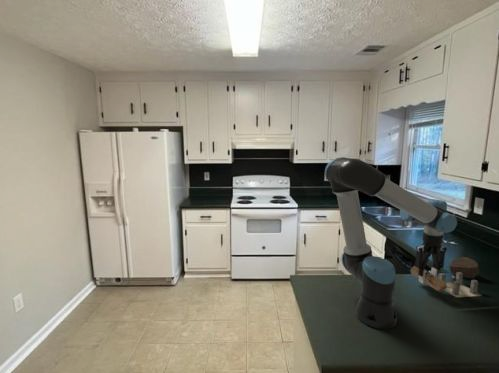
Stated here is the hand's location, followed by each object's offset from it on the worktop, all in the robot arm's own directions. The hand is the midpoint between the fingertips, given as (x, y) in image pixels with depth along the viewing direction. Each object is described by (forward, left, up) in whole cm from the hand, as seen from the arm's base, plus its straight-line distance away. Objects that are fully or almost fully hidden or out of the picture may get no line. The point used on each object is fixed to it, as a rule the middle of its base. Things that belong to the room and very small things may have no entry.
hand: (427, 282), depth 128 cm
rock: (+31, +12, -6) cm, 34 cm away
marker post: (+19, +6, -5) cm, 21 cm away
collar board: (+16, +1, -6) cm, 17 cm away
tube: (-1, 0, 0) cm, 1 cm away
